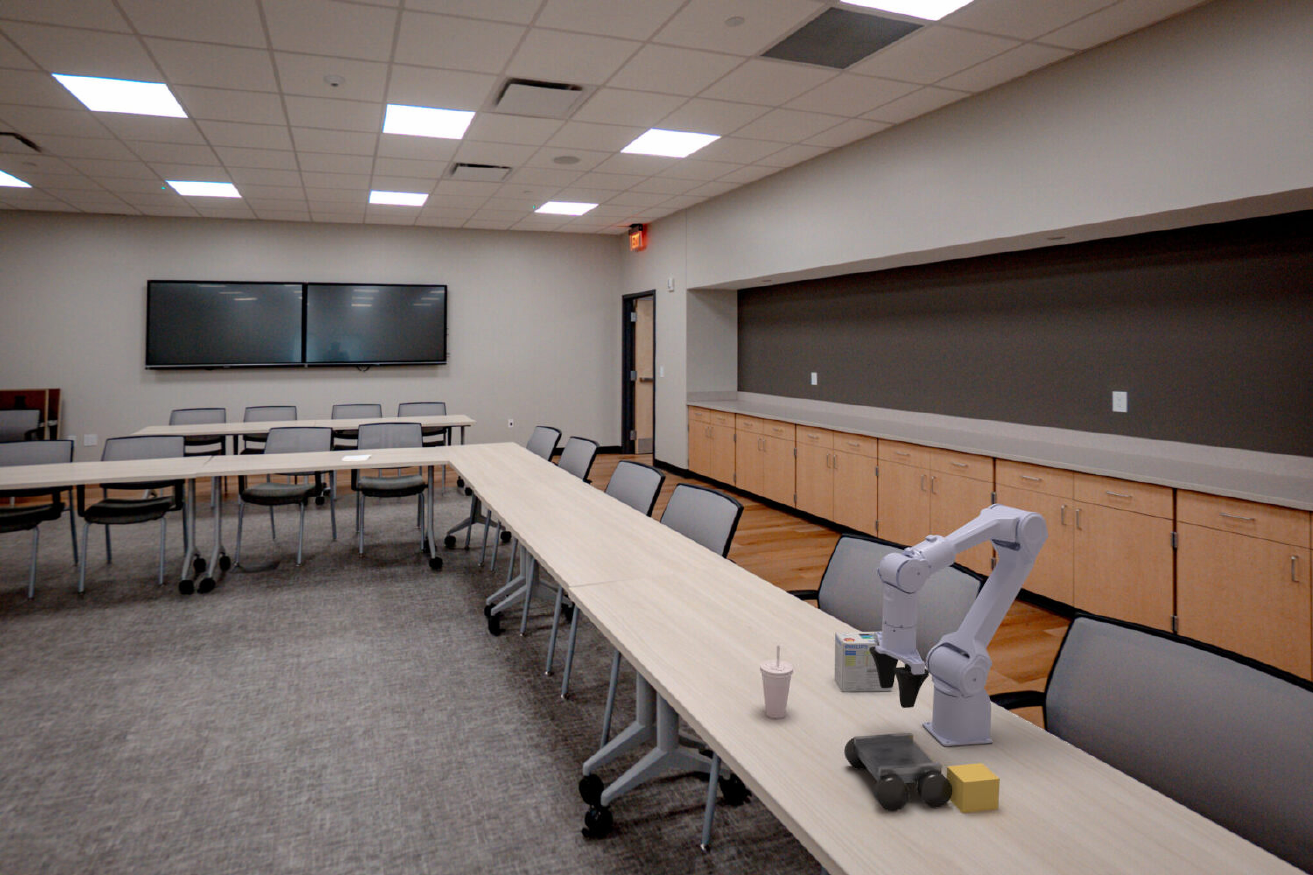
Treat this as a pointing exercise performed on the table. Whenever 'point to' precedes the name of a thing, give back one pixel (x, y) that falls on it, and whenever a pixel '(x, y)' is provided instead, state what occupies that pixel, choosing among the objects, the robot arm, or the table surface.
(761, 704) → the table surface
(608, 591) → the table surface
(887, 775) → the trolley
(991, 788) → the yellow block
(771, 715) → the smoothie
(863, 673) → the light bulb box
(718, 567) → the table surface
